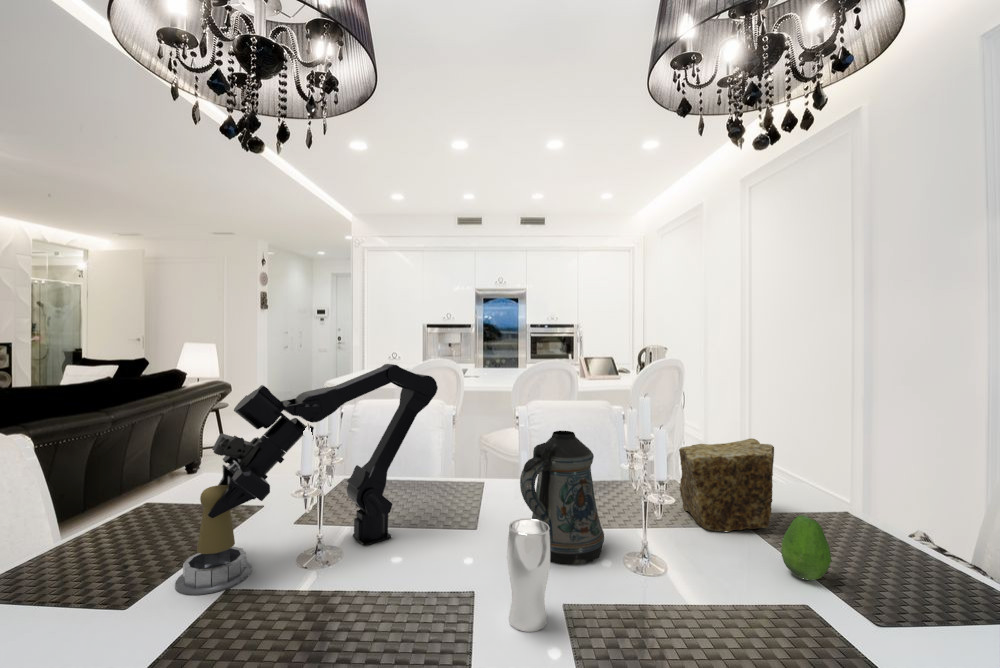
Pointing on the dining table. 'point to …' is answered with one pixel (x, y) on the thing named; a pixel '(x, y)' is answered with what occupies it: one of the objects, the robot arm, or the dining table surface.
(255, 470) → the robot arm
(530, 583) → the beer glass
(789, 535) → the avocado
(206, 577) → the duct collar
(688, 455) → the decorative stone
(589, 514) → the beer stein
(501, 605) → the dining table surface
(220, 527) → the olive game pawn
